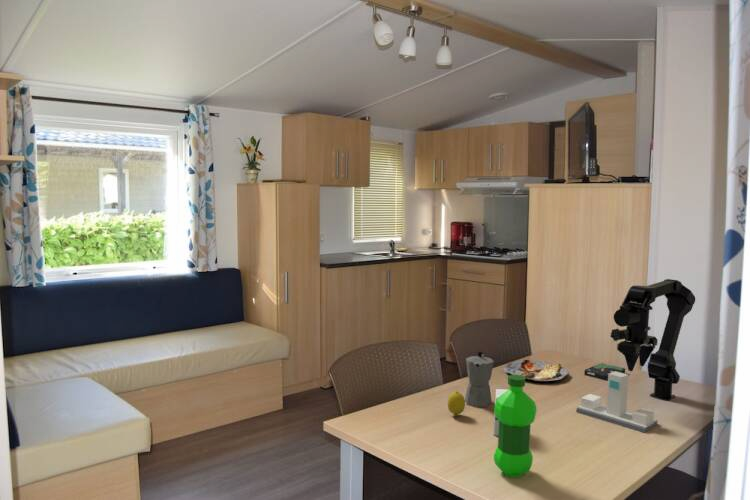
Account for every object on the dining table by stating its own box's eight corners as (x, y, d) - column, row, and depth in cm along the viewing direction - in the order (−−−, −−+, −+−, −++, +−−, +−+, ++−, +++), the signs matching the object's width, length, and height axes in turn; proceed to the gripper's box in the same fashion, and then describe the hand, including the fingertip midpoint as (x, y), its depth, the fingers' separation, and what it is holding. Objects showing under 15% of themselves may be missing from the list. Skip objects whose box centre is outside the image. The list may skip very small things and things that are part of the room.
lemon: (466, 414, 188) (467, 390, 187) (461, 420, 183) (462, 395, 182) (450, 411, 190) (451, 387, 189) (445, 417, 185) (445, 392, 184)
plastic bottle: (489, 477, 146) (493, 380, 143) (496, 460, 155) (499, 369, 153) (530, 485, 142) (535, 386, 140) (534, 466, 152) (539, 374, 149)
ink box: (493, 424, 179) (495, 388, 178) (510, 426, 178) (511, 389, 177) (493, 436, 171) (495, 397, 170) (511, 437, 170) (512, 399, 169)
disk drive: (609, 382, 224) (625, 374, 235) (609, 375, 224) (625, 368, 234) (583, 376, 232) (600, 368, 242) (584, 369, 231) (600, 362, 242)
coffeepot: (489, 411, 191) (492, 357, 189) (461, 407, 194) (463, 354, 192) (494, 396, 205) (496, 346, 204) (468, 392, 208) (469, 343, 206)
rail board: (590, 404, 198) (591, 392, 198) (657, 424, 182) (658, 410, 182) (576, 411, 191) (576, 398, 191) (644, 432, 175) (645, 418, 175)
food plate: (520, 361, 248) (520, 353, 248) (575, 372, 235) (575, 364, 235) (495, 377, 228) (496, 368, 228) (554, 390, 215) (554, 381, 214)
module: (613, 410, 190) (615, 371, 188) (626, 414, 186) (628, 374, 185) (605, 413, 187) (608, 373, 186) (618, 417, 183) (621, 377, 182)
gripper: (627, 315, 208) (624, 358, 209) (603, 323, 195) (600, 368, 197) (659, 321, 200) (656, 365, 201) (636, 328, 187) (633, 376, 189)
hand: (636, 368), depth 197 cm, fingers open, 9 cm apart
